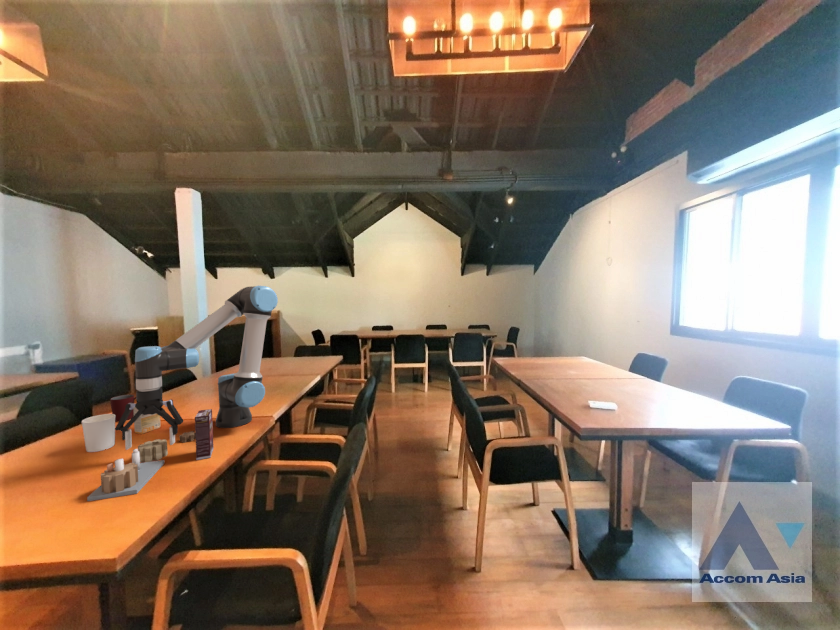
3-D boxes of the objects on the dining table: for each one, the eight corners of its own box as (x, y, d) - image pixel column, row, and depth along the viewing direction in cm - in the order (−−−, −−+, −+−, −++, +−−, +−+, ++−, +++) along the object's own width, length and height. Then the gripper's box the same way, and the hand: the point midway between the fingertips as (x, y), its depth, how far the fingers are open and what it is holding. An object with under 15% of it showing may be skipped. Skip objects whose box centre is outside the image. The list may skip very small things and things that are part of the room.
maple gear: (171, 450, 132) (170, 437, 131) (161, 460, 124) (161, 446, 123) (145, 453, 129) (144, 441, 129) (134, 464, 121) (133, 450, 121)
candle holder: (96, 454, 130) (94, 423, 129) (76, 452, 132) (74, 421, 131) (123, 443, 139) (121, 414, 139) (104, 441, 141) (102, 413, 141)
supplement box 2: (211, 457, 125) (209, 415, 124) (195, 460, 123) (193, 417, 122) (214, 448, 133) (212, 408, 132) (199, 451, 131) (197, 410, 130)
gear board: (164, 463, 122) (163, 437, 121) (137, 493, 103) (135, 463, 102) (123, 468, 118) (122, 442, 118) (87, 501, 99) (85, 470, 98)
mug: (145, 414, 175) (144, 393, 174) (139, 419, 167) (137, 397, 166) (116, 417, 170) (115, 395, 170) (108, 423, 162) (106, 400, 162)
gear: (196, 435, 146) (196, 430, 146) (196, 440, 141) (196, 434, 141) (180, 438, 143) (179, 433, 143) (179, 443, 138) (178, 437, 138)
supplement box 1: (141, 434, 148) (140, 405, 147) (134, 433, 150) (132, 404, 149) (161, 427, 156) (159, 399, 155) (154, 426, 157) (152, 398, 157)
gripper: (192, 384, 132) (193, 437, 133) (113, 389, 125) (115, 446, 126) (185, 388, 125) (186, 445, 126) (101, 394, 118) (103, 454, 119)
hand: (151, 445), depth 126 cm, fingers open, 13 cm apart
